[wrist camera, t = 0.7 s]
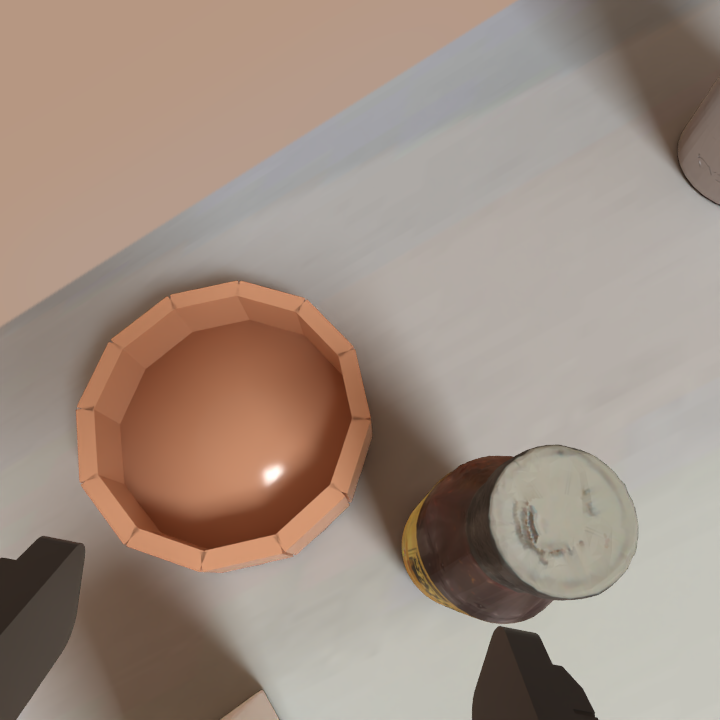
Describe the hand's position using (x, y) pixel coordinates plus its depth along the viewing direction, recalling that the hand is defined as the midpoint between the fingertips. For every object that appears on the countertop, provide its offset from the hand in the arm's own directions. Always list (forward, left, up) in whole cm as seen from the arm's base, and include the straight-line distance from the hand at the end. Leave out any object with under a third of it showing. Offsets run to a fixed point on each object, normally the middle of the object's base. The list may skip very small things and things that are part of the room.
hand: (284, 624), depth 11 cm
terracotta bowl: (-1, -12, -24) cm, 26 cm away
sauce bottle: (-6, +2, -24) cm, 25 cm away
